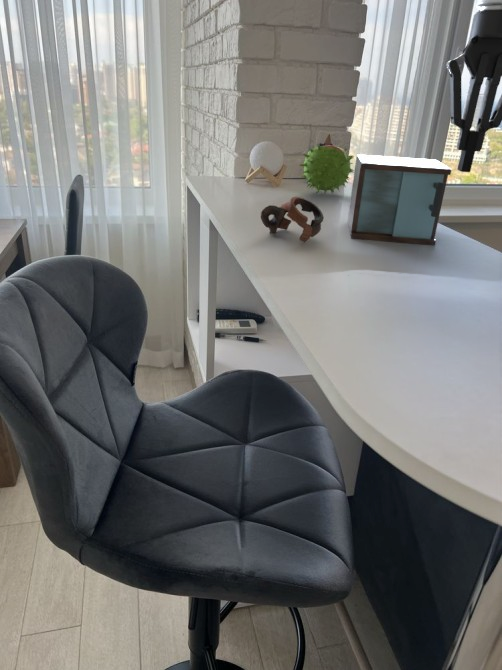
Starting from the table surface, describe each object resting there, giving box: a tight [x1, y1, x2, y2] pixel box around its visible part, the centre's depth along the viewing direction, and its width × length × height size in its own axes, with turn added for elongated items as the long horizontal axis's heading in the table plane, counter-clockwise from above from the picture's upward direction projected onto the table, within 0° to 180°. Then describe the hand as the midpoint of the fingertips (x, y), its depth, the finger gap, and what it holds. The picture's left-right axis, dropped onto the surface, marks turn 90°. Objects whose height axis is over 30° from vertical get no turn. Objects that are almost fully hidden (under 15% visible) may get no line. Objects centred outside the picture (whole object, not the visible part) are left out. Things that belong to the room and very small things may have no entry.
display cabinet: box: [347, 154, 452, 246], centre depth 100 cm, size 16×14×14 cm
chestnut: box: [299, 143, 355, 195], centre depth 135 cm, size 15×14×15 cm
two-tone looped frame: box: [260, 196, 324, 243], centre depth 95 cm, size 12×10×8 cm
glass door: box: [392, 172, 444, 239], centre depth 93 cm, size 7×4×12 cm, turn 83°
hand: (463, 170), depth 88 cm, fingers closed
